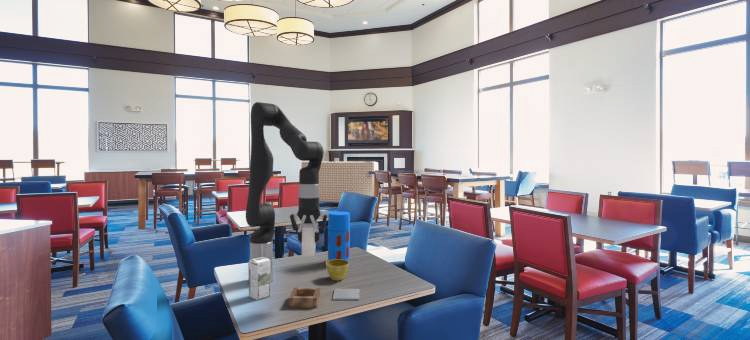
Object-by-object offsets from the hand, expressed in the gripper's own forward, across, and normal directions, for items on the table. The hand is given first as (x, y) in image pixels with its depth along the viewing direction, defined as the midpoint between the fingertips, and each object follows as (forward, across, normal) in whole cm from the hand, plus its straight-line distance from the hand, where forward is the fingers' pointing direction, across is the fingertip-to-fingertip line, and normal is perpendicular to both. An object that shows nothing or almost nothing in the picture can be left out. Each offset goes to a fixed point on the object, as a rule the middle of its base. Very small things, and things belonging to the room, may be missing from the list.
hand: (308, 241), depth 139 cm
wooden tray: (+22, -1, 0) cm, 23 cm away
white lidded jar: (+5, 0, 0) cm, 5 cm away
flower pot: (+23, +8, +26) cm, 35 cm away
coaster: (+22, +14, +7) cm, 27 cm away
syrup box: (+23, -19, +4) cm, 30 cm away
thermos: (+23, +7, +50) cm, 55 cm away
